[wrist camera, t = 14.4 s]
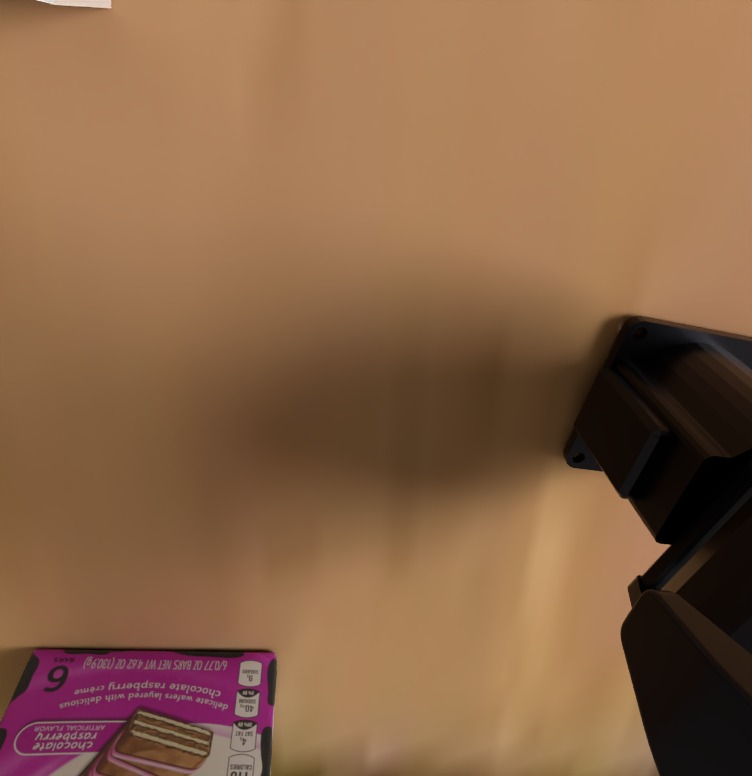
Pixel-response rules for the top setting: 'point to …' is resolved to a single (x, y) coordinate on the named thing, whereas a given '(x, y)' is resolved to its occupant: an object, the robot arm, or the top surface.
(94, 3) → the bore box
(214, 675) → the candy bar box
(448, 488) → the top surface
